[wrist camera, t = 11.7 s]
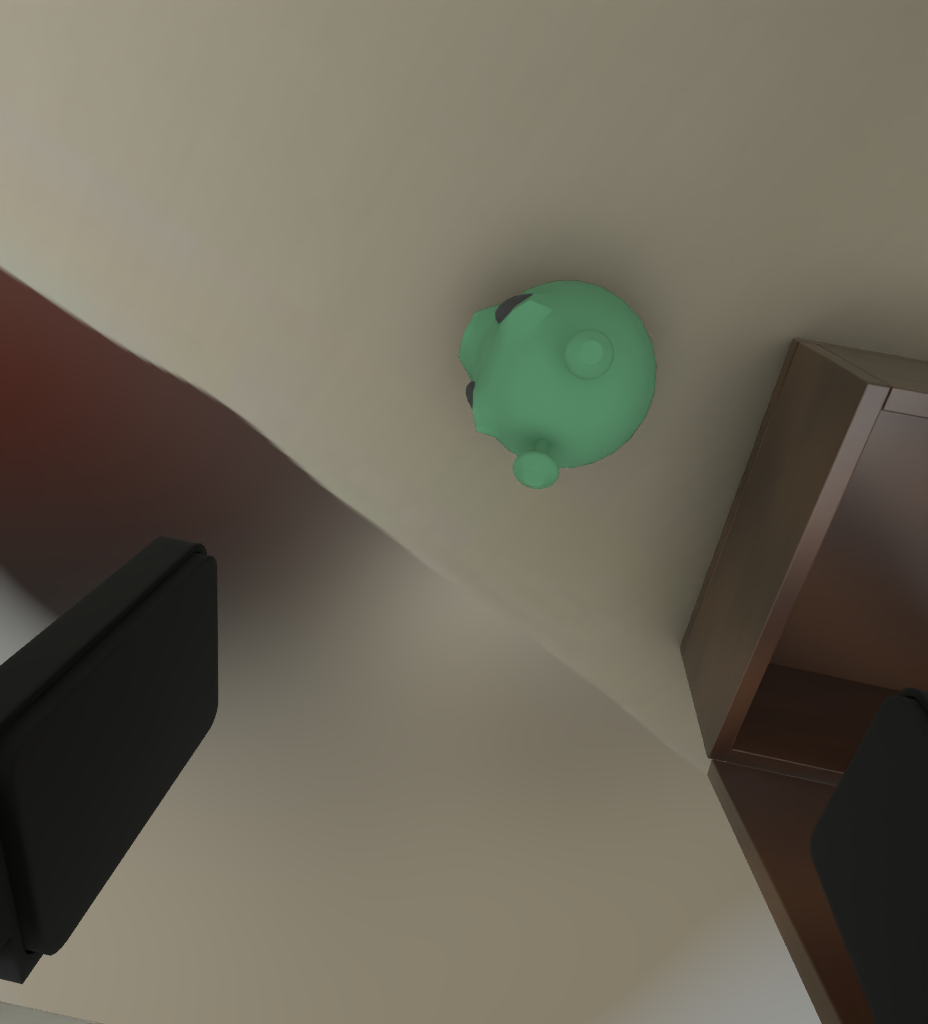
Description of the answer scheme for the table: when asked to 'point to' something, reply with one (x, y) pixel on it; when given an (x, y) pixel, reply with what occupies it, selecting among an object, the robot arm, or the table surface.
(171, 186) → the table surface
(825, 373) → the chest
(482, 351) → the alien toy
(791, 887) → the lid
